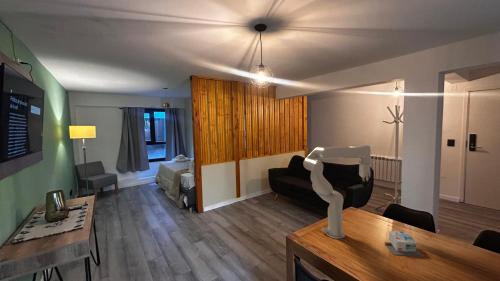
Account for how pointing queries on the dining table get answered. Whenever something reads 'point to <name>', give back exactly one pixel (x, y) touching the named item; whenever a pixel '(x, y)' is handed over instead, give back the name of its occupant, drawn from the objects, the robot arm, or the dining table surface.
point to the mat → (403, 252)
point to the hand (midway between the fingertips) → (365, 186)
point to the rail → (388, 244)
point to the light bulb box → (402, 241)
